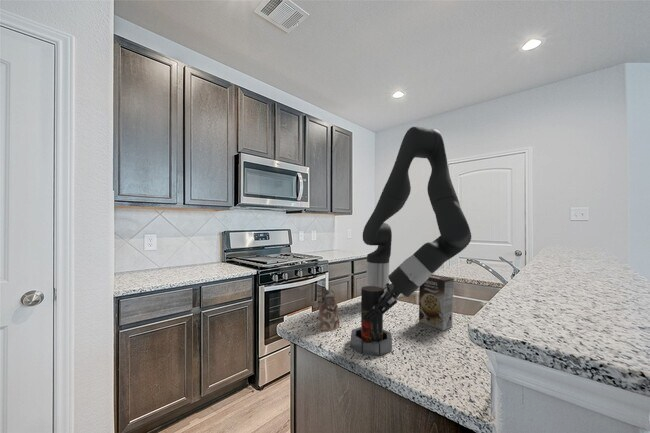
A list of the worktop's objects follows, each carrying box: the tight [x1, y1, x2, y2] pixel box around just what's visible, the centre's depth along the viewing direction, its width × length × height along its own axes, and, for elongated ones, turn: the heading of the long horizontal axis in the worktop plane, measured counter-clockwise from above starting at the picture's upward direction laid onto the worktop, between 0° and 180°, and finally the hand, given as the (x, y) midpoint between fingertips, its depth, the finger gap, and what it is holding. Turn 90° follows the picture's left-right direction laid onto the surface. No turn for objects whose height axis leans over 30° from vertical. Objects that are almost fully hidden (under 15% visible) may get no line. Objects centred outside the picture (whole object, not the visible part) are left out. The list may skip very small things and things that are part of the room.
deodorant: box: [360, 285, 384, 342], centre depth 78 cm, size 6×6×15 cm
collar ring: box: [350, 326, 393, 357], centre depth 78 cm, size 11×11×3 cm
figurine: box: [316, 287, 340, 332], centre depth 91 cm, size 7×7×12 cm
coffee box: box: [418, 273, 455, 331], centre depth 94 cm, size 9×6×16 cm
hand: (365, 315), depth 78 cm, fingers closed on deodorant, 6 cm apart
